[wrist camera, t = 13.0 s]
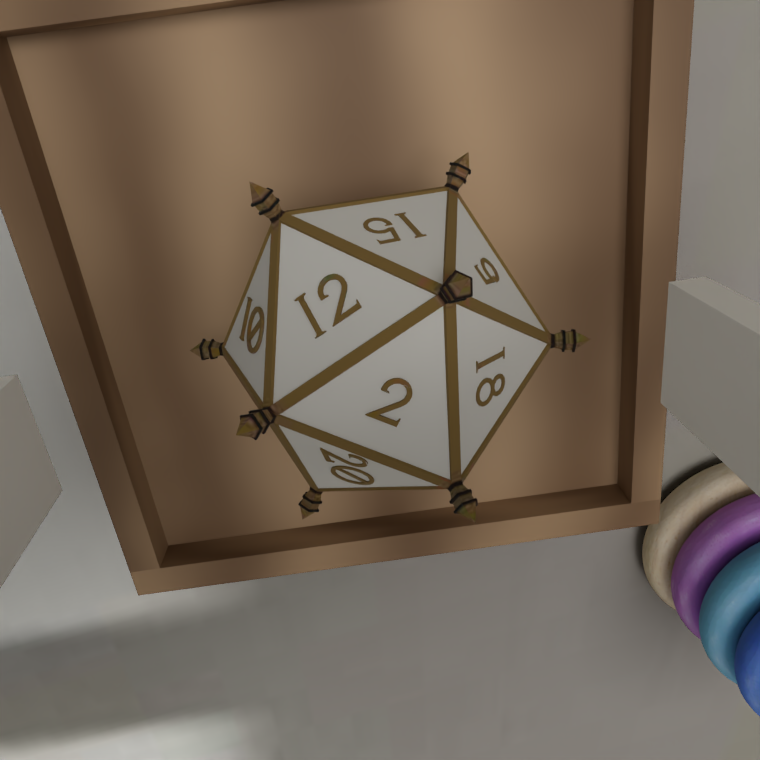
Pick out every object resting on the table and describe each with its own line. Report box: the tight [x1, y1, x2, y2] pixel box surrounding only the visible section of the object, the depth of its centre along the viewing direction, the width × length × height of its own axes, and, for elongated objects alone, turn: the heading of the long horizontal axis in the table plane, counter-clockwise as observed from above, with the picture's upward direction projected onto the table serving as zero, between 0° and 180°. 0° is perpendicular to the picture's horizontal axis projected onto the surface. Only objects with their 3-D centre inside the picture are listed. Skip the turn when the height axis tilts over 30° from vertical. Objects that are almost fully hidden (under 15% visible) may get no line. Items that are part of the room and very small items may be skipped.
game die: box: [190, 152, 591, 523], centre depth 16 cm, size 9×8×10 cm
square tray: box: [0, 0, 694, 595], centre depth 21 cm, size 18×18×4 cm
